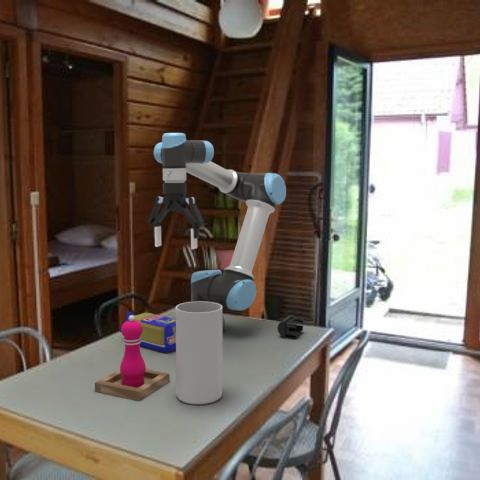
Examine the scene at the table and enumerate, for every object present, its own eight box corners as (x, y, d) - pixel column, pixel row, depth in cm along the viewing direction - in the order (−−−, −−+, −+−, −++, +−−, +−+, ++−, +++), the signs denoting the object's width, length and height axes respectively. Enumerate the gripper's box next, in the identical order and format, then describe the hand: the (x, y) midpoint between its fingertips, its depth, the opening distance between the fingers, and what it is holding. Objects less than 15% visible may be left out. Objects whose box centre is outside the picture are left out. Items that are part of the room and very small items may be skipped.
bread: (165, 355, 183) (165, 325, 182) (118, 341, 198) (117, 313, 197) (187, 348, 191) (187, 319, 190) (139, 334, 206) (139, 307, 205)
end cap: (285, 330, 212) (285, 313, 211) (303, 333, 209) (303, 315, 208) (277, 338, 203) (277, 320, 202) (295, 340, 200) (295, 322, 199)
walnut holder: (127, 373, 166) (127, 365, 166) (169, 381, 160) (169, 373, 160) (94, 391, 153) (94, 382, 152) (139, 401, 147) (139, 392, 146)
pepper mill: (136, 376, 161) (135, 310, 159) (151, 383, 156) (149, 315, 154) (115, 383, 156) (113, 315, 154) (129, 390, 151) (127, 320, 149)
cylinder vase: (179, 386, 156) (179, 301, 153) (223, 387, 156) (223, 301, 153) (173, 405, 144) (172, 312, 141) (220, 406, 144) (220, 313, 141)
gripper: (135, 181, 177) (137, 246, 180) (203, 182, 167) (204, 251, 170) (148, 181, 184) (150, 243, 187) (214, 181, 174) (215, 248, 177)
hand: (175, 247), depth 179 cm, fingers open, 13 cm apart
